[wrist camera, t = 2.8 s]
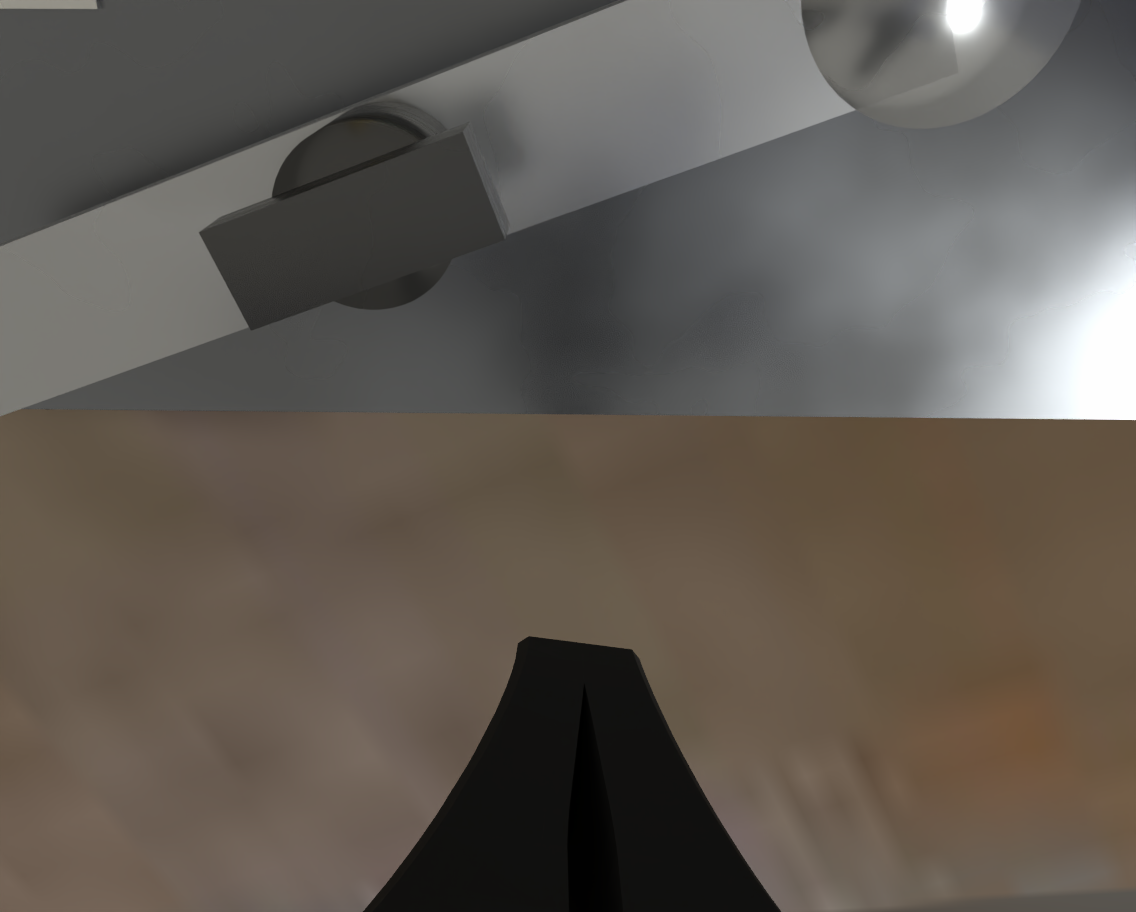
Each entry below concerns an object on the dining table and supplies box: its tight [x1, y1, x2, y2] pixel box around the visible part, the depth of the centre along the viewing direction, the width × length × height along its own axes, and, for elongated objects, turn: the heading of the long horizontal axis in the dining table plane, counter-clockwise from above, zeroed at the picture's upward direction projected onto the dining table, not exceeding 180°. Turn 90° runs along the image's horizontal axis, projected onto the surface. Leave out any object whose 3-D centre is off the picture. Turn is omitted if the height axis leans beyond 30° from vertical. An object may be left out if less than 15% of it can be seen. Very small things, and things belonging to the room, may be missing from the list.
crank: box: [0, 0, 1081, 416], centre depth 11 cm, size 14×3×5 cm, turn 110°
